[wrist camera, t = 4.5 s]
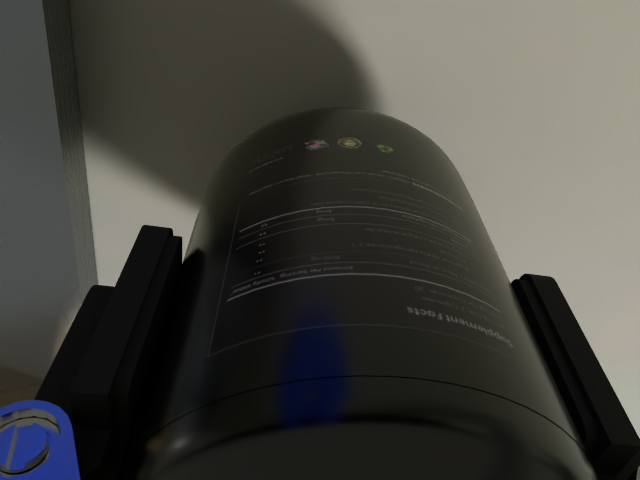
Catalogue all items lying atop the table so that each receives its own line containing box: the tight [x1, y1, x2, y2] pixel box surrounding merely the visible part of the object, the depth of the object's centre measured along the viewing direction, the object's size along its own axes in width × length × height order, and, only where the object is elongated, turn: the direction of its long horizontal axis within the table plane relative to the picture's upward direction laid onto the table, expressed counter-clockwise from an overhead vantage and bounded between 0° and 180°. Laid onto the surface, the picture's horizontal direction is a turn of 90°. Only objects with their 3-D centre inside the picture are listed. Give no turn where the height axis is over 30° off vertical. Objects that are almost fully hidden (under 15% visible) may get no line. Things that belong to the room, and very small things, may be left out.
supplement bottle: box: [115, 107, 598, 480], centre depth 9 cm, size 7×7×12 cm
